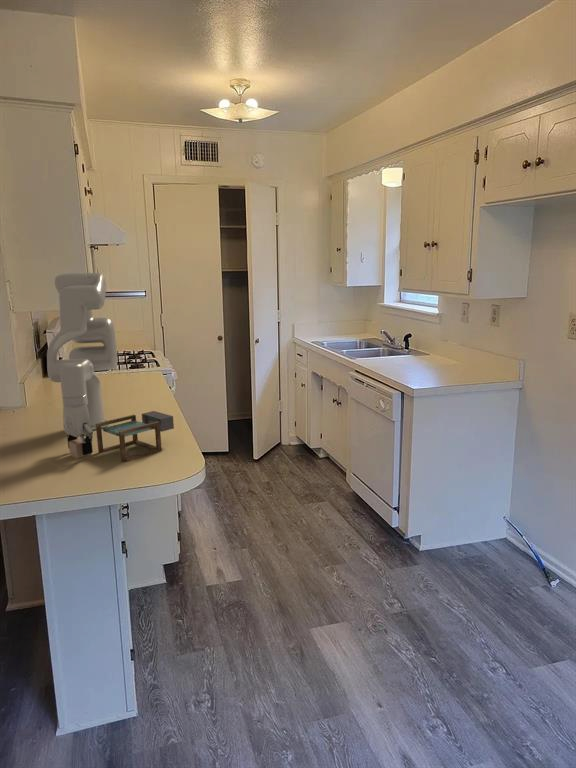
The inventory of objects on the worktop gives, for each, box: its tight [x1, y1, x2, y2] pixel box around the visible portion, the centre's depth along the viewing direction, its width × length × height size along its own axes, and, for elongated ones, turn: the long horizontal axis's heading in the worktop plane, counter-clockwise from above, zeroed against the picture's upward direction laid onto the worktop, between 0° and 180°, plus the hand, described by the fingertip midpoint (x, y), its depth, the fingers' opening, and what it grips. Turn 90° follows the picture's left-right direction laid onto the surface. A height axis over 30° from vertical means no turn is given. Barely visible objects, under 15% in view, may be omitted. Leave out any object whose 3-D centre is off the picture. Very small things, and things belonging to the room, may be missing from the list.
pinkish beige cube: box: [68, 437, 93, 459], centre depth 184 cm, size 5×5×5 cm
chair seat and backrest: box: [102, 410, 175, 438], centre depth 188 cm, size 12×20×4 cm, turn 137°
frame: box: [96, 414, 163, 463], centre depth 185 cm, size 16×14×10 cm
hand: (80, 450), depth 184 cm, fingers open, 9 cm apart
